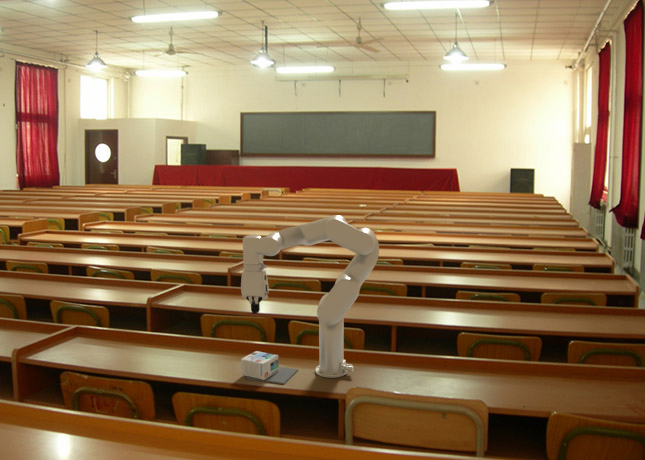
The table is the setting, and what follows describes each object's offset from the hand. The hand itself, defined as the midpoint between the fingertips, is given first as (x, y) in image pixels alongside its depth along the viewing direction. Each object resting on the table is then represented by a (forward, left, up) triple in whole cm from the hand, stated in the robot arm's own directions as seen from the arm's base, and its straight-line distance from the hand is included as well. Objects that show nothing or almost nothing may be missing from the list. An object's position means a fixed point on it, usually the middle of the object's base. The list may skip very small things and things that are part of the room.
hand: (255, 312), depth 243 cm
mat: (-8, +3, -24) cm, 25 cm away
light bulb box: (+2, +3, -20) cm, 20 cm away
